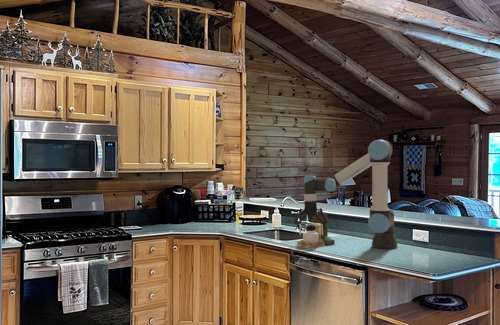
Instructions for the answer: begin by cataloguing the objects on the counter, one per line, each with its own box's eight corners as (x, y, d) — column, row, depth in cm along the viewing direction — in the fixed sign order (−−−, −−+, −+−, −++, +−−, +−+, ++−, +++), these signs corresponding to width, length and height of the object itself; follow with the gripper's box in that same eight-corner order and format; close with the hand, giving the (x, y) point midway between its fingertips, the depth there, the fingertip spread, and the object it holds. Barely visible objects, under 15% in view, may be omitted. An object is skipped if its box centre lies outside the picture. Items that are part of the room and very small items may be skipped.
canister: (327, 239, 327) (327, 210, 327) (312, 239, 329) (311, 209, 330) (328, 237, 338) (328, 208, 338) (313, 237, 340) (313, 208, 340)
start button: (332, 243, 308) (332, 237, 308) (327, 243, 305) (327, 237, 305) (327, 242, 311) (327, 236, 311) (323, 243, 308) (323, 236, 308)
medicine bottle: (318, 244, 303) (318, 224, 303) (312, 245, 298) (312, 226, 298) (309, 243, 308) (309, 224, 308) (302, 244, 303) (302, 225, 303)
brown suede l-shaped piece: (334, 244, 307) (334, 224, 307) (310, 248, 294) (310, 227, 295) (316, 241, 320) (316, 222, 320) (293, 245, 307) (293, 225, 307)
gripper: (330, 199, 305) (331, 233, 305) (290, 200, 308) (291, 234, 308) (330, 200, 298) (331, 235, 297) (290, 201, 301) (290, 235, 301)
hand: (311, 234), depth 303 cm, fingers open, 13 cm apart
